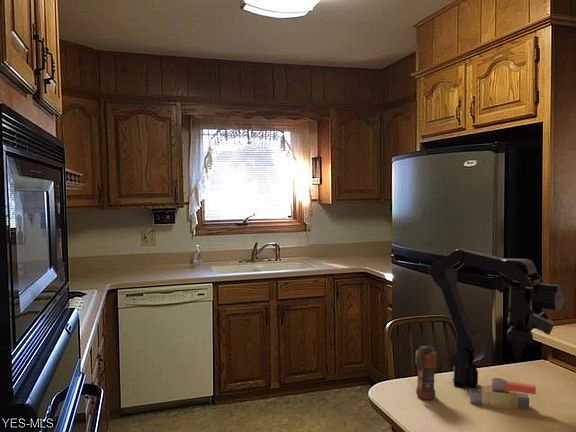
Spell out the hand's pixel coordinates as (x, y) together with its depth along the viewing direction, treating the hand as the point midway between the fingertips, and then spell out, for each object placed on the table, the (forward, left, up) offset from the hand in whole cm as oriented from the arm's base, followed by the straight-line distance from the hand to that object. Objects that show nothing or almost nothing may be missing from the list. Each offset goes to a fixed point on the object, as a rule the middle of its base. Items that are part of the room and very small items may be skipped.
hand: (518, 358), depth 137 cm
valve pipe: (-5, -4, -12) cm, 14 cm away
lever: (-2, -4, -8) cm, 9 cm away
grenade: (-25, -5, -13) cm, 29 cm away
